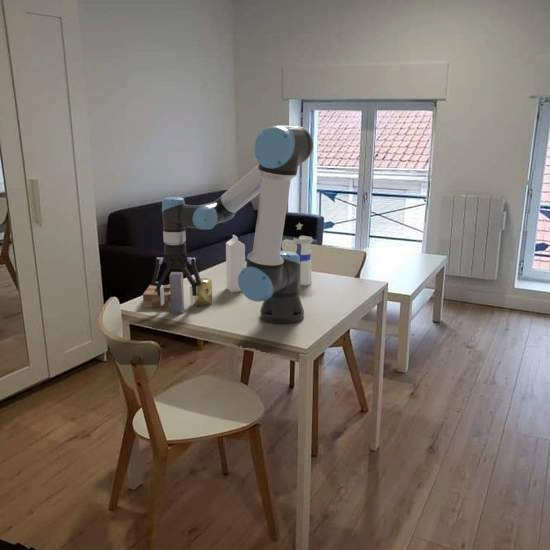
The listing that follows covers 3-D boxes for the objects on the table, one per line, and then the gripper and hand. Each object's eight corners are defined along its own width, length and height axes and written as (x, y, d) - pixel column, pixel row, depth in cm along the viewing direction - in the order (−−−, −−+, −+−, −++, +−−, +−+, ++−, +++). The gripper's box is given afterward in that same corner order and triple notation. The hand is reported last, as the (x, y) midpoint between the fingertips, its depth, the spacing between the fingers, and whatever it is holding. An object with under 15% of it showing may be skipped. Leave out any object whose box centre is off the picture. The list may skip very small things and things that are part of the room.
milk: (240, 286, 231) (240, 233, 225) (245, 290, 225) (245, 236, 219) (226, 288, 228) (225, 234, 223) (230, 292, 223) (230, 237, 217)
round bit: (211, 306, 206) (210, 282, 204) (193, 306, 206) (192, 282, 204) (213, 300, 213) (212, 277, 210) (195, 300, 213) (194, 277, 210)
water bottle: (287, 283, 236) (288, 224, 229) (300, 278, 242) (301, 221, 236) (303, 286, 231) (304, 226, 224) (315, 282, 237) (317, 223, 230)
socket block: (176, 307, 205) (176, 294, 203) (143, 307, 204) (142, 294, 203) (181, 297, 216) (181, 285, 215) (150, 297, 216) (149, 285, 215)
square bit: (182, 313, 199) (180, 275, 195) (171, 313, 199) (169, 275, 195) (184, 309, 203) (182, 272, 199) (173, 309, 203) (171, 272, 199)
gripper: (208, 240, 198) (210, 301, 204) (144, 240, 198) (148, 300, 204) (206, 245, 190) (207, 307, 196) (139, 244, 190) (143, 307, 196)
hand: (177, 304), depth 200 cm, fingers open, 10 cm apart
